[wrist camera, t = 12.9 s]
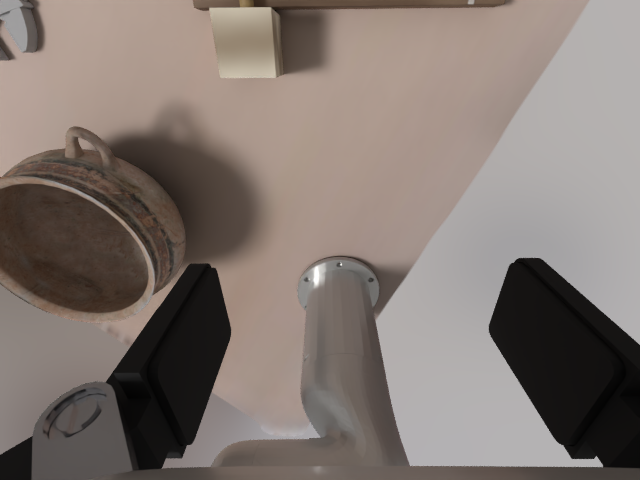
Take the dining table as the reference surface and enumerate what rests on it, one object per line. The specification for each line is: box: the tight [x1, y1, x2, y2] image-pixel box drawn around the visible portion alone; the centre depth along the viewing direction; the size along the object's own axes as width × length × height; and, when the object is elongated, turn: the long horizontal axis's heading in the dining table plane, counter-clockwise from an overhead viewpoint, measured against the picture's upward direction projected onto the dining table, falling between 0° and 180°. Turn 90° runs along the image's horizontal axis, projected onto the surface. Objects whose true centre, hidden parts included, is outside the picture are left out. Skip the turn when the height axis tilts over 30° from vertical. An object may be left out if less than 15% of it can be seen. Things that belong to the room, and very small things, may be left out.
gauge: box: [209, 0, 284, 78], centre depth 27 cm, size 10×5×6 cm, turn 0°
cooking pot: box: [0, 127, 186, 323], centre depth 35 cm, size 25×19×12 cm
